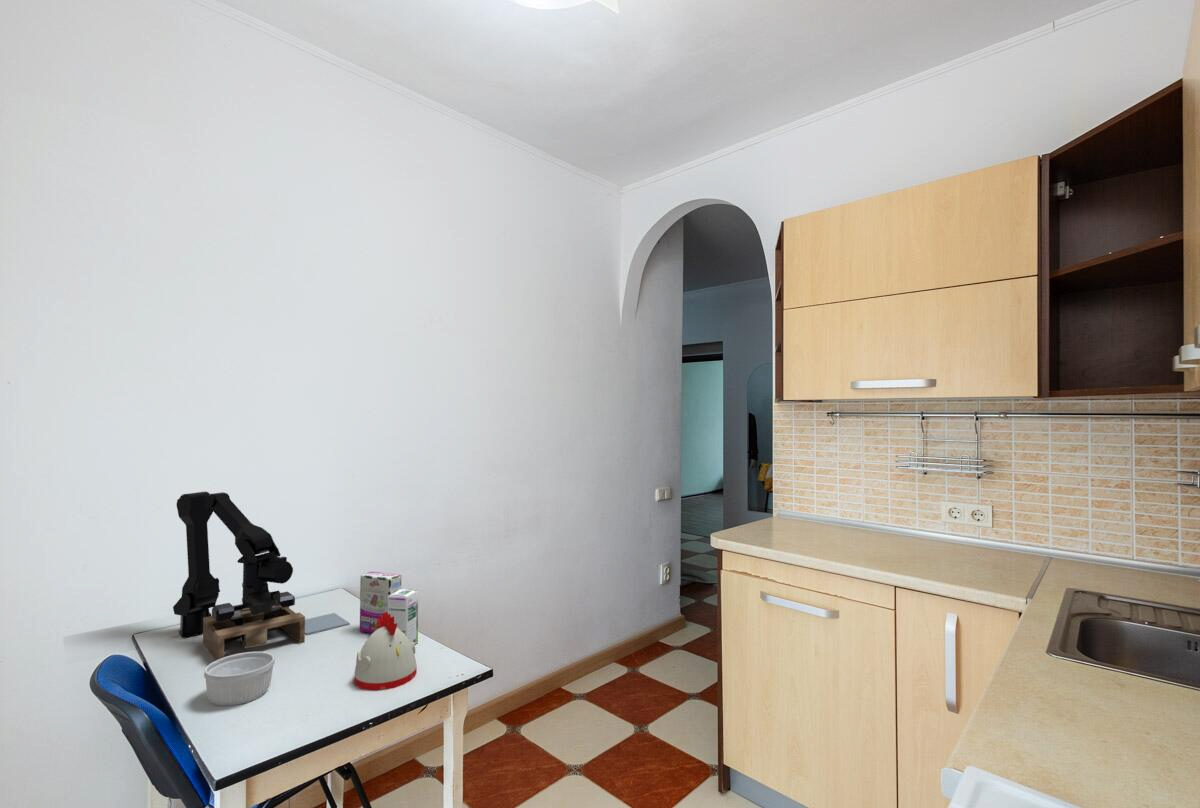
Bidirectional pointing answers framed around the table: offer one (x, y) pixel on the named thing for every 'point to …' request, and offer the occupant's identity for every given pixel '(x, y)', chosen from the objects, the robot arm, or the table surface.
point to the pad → (324, 623)
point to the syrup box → (405, 612)
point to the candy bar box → (375, 598)
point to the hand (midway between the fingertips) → (253, 637)
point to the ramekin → (239, 678)
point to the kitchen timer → (385, 658)
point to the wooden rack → (250, 628)
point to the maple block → (254, 638)
